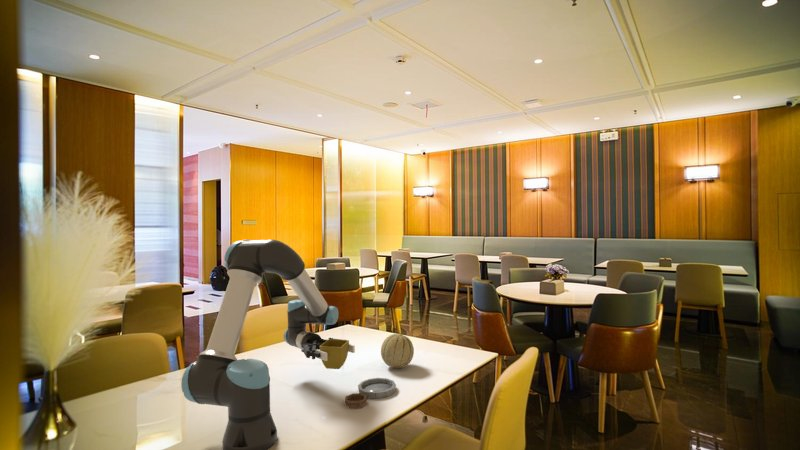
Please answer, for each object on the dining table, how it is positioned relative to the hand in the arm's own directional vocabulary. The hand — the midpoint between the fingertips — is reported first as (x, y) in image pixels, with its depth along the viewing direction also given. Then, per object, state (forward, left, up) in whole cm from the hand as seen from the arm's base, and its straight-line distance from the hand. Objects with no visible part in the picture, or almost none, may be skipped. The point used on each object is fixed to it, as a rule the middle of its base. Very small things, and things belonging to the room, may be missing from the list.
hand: (340, 353), depth 145 cm
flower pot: (0, +4, -6) cm, 7 cm away
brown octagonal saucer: (+1, -7, -17) cm, 18 cm away
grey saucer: (+13, -4, -17) cm, 22 cm away
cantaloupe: (+36, +8, -17) cm, 41 cm away
